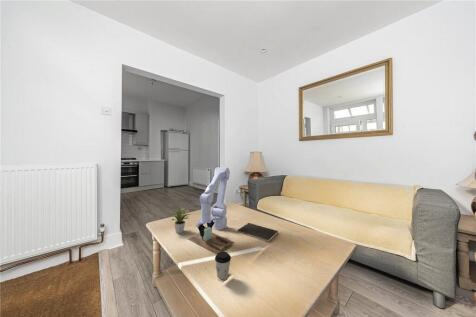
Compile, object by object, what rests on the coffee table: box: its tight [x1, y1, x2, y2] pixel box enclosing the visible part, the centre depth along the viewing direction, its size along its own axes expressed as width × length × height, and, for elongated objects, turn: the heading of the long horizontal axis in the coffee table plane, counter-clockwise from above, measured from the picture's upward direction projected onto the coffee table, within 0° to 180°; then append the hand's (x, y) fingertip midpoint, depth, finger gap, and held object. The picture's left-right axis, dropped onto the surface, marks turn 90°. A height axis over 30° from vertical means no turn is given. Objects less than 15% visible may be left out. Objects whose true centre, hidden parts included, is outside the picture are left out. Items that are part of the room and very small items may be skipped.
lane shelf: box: [187, 232, 236, 255], centre depth 102 cm, size 16×25×2 cm, turn 52°
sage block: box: [198, 225, 213, 241], centre depth 105 cm, size 5×6×7 cm
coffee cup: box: [214, 251, 232, 282], centre depth 73 cm, size 7×7×10 cm
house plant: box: [171, 207, 192, 234], centre depth 114 cm, size 14×14×16 cm
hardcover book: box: [237, 222, 279, 243], centre depth 116 cm, size 16×23×2 cm
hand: (205, 234), depth 105 cm, fingers closed on sage block, 5 cm apart
